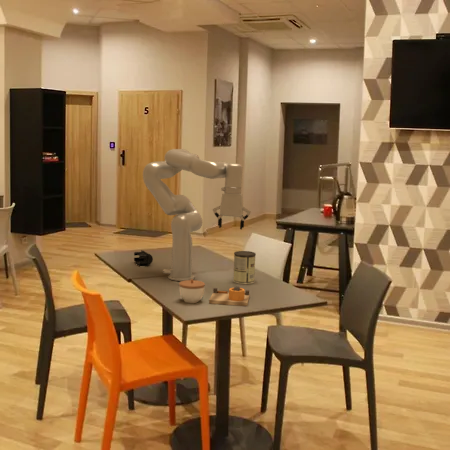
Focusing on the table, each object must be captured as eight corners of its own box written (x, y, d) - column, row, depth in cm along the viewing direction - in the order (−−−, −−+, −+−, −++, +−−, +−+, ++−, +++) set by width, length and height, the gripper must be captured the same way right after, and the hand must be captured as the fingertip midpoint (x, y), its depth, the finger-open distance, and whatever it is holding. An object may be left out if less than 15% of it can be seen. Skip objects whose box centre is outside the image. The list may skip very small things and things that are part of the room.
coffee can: (236, 278, 313) (237, 250, 311) (256, 280, 310) (257, 252, 308) (230, 282, 303) (231, 253, 301) (251, 285, 300) (253, 255, 298)
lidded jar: (209, 301, 270) (210, 279, 268) (191, 306, 262) (192, 283, 260) (191, 296, 277) (192, 275, 275) (173, 300, 269) (174, 278, 267)
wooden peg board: (208, 303, 266) (209, 288, 265) (213, 294, 280) (213, 280, 279) (247, 306, 265) (247, 290, 264) (249, 297, 279) (250, 282, 278)
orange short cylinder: (228, 300, 267) (228, 290, 267) (229, 296, 274) (230, 287, 273) (243, 301, 266) (243, 291, 266) (244, 297, 273) (245, 288, 272)
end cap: (152, 266, 332) (153, 253, 331) (139, 267, 329) (140, 254, 328) (146, 262, 341) (146, 249, 340) (133, 263, 338) (133, 250, 337)
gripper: (212, 190, 285) (210, 228, 288) (251, 193, 283) (248, 231, 286) (215, 188, 292) (213, 225, 295) (252, 191, 290) (250, 228, 293)
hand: (230, 228), depth 290 cm, fingers open, 9 cm apart
